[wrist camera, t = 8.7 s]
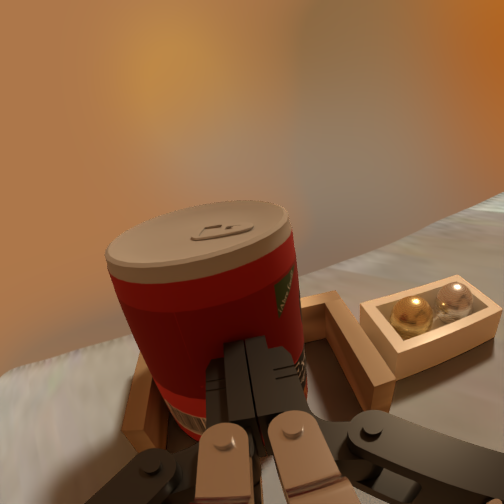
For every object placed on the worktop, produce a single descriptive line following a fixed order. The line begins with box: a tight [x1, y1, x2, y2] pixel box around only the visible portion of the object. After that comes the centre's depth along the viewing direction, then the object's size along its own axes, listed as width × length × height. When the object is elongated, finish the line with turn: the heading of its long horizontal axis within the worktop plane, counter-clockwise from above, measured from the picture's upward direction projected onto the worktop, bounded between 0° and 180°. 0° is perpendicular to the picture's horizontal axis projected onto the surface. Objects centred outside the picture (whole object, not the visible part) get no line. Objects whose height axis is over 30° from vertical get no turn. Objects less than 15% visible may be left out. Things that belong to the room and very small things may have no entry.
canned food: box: [105, 200, 308, 446], centre depth 15 cm, size 8×8×11 cm
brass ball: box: [390, 296, 433, 341], centre depth 18 cm, size 3×3×3 cm
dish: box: [360, 275, 503, 381], centre depth 19 cm, size 9×6×2 cm, turn 97°
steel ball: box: [435, 282, 474, 324], centre depth 18 cm, size 3×3×3 cm
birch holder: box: [121, 290, 396, 453], centre depth 18 cm, size 13×9×3 cm
